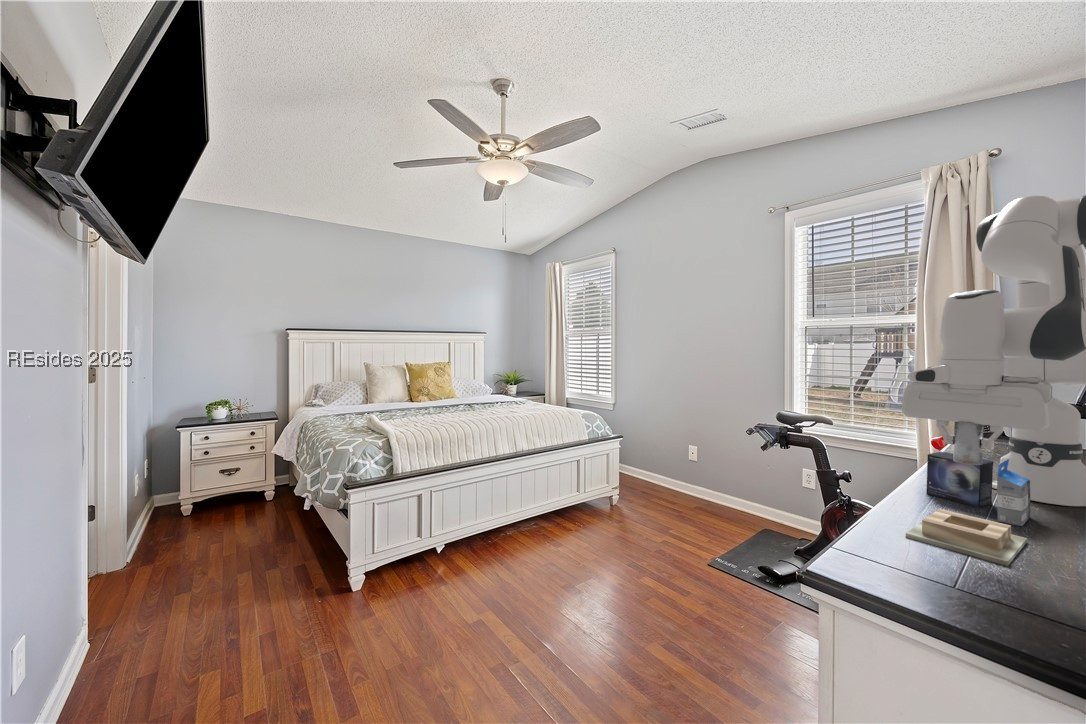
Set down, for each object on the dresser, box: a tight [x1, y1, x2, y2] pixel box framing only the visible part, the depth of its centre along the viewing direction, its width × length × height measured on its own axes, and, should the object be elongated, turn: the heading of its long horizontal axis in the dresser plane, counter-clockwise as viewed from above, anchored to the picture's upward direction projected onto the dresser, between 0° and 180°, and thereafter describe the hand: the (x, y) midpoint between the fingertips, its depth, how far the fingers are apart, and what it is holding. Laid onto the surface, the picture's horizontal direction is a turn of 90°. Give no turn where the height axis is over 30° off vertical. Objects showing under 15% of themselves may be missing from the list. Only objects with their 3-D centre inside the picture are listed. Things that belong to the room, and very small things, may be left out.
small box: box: [925, 451, 994, 508], centre depth 108 cm, size 11×6×10 cm, turn 23°
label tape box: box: [996, 459, 1031, 527], centre depth 95 cm, size 9×4×12 cm, turn 124°
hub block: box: [905, 508, 1028, 567], centre depth 85 cm, size 16×14×3 cm
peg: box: [952, 421, 984, 465], centre depth 85 cm, size 4×4×8 cm
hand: (968, 446), depth 85 cm, fingers closed on peg, 4 cm apart
